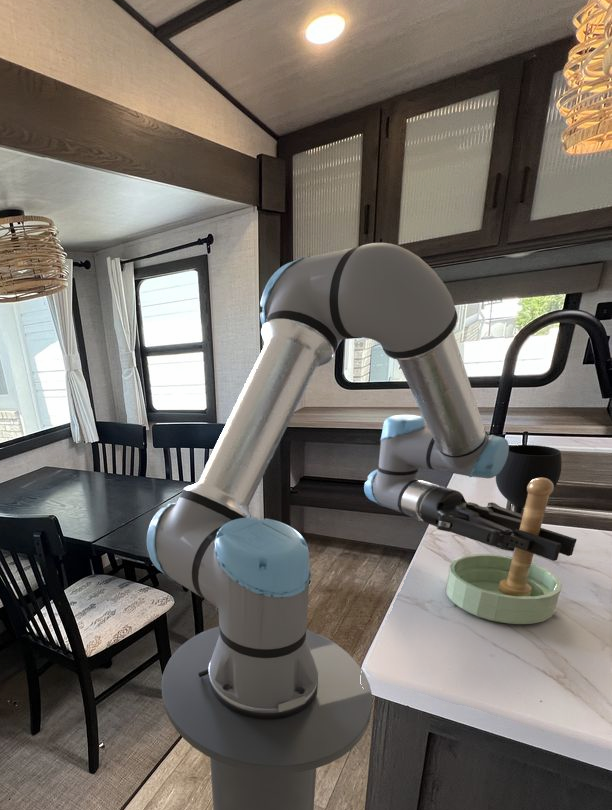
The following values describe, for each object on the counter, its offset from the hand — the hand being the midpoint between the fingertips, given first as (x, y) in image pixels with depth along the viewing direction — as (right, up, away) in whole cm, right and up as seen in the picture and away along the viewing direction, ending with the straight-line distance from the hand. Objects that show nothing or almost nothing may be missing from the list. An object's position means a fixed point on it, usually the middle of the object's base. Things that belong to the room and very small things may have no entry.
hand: (564, 550), depth 71 cm
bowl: (-3, -9, +11) cm, 14 cm away
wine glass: (+15, +1, +31) cm, 34 cm away
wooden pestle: (-1, -7, +9) cm, 12 cm away
